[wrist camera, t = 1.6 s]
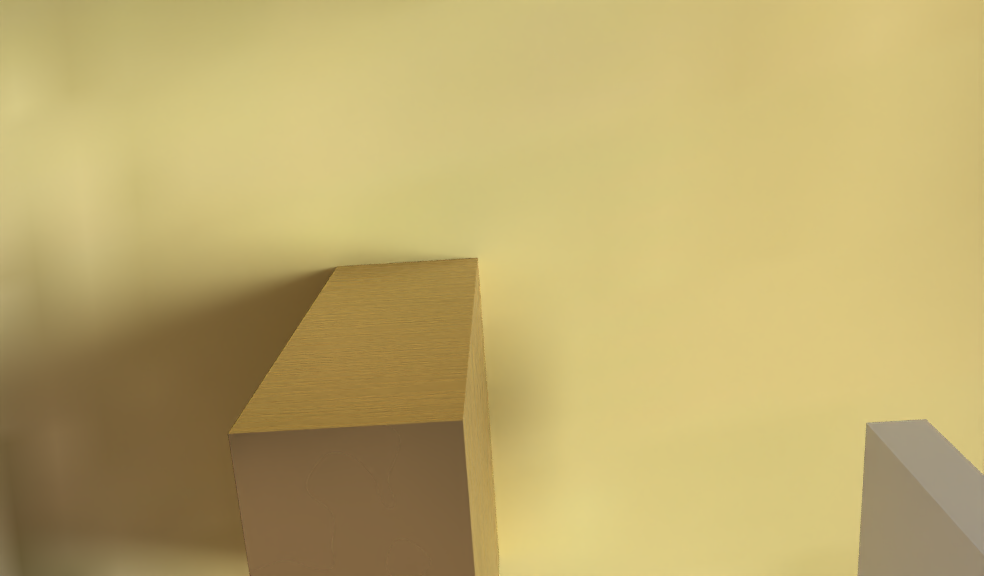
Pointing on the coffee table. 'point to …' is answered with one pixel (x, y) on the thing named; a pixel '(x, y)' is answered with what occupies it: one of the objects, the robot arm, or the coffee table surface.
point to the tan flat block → (374, 432)
